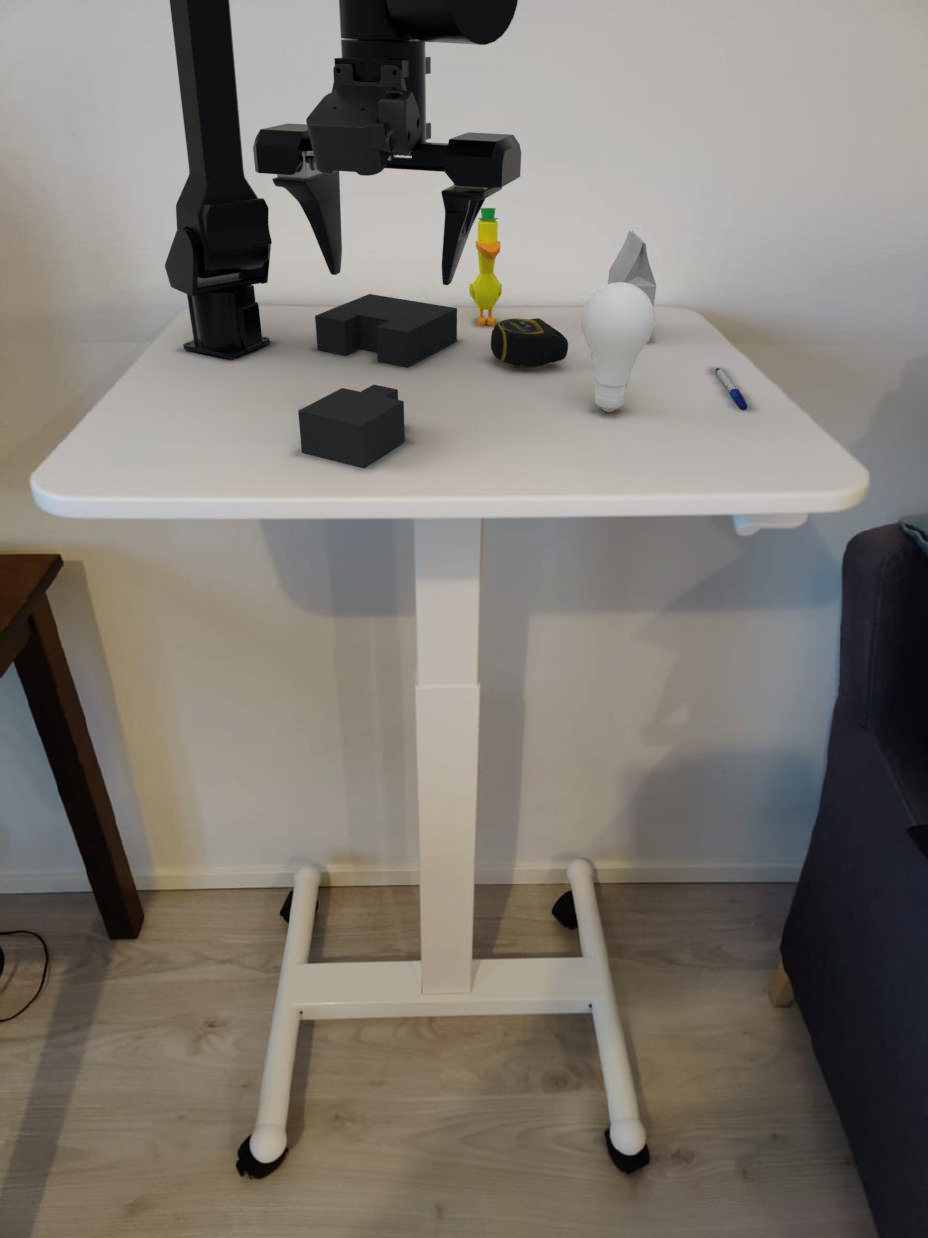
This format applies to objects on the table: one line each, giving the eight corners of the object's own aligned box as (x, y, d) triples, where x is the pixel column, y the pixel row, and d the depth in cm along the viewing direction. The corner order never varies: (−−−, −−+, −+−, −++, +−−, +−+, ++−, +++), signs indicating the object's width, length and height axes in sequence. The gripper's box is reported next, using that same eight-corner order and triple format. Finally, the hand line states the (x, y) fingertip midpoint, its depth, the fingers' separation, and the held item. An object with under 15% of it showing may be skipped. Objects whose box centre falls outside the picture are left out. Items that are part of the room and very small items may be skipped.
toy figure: (505, 331, 101) (509, 214, 95) (473, 332, 101) (475, 214, 94) (497, 315, 107) (501, 203, 100) (467, 315, 107) (468, 203, 100)
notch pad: (317, 349, 95) (314, 315, 93) (370, 325, 103) (369, 293, 101) (408, 367, 91) (407, 331, 89) (456, 341, 98) (457, 307, 96)
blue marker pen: (750, 411, 83) (751, 400, 82) (740, 411, 83) (741, 401, 82) (719, 373, 92) (721, 363, 91) (711, 373, 92) (712, 363, 91)
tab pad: (301, 452, 74) (297, 410, 72) (357, 420, 79) (355, 380, 77) (364, 468, 71) (362, 425, 69) (417, 433, 77) (417, 393, 75)
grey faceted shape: (615, 342, 99) (625, 243, 93) (603, 324, 104) (613, 230, 99) (649, 342, 99) (661, 243, 93) (636, 324, 105) (647, 230, 99)
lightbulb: (648, 404, 84) (664, 278, 77) (636, 427, 79) (652, 295, 73) (582, 395, 85) (593, 271, 79) (566, 418, 80) (577, 288, 74)
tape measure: (569, 370, 91) (572, 332, 89) (503, 376, 89) (505, 337, 87) (543, 349, 96) (545, 313, 94) (481, 355, 95) (482, 318, 93)
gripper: (198, 39, 58) (230, 293, 67) (481, 46, 54) (476, 318, 62) (279, 35, 67) (298, 260, 76) (527, 41, 63) (517, 280, 71)
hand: (390, 278), depth 71 cm, fingers open, 9 cm apart
